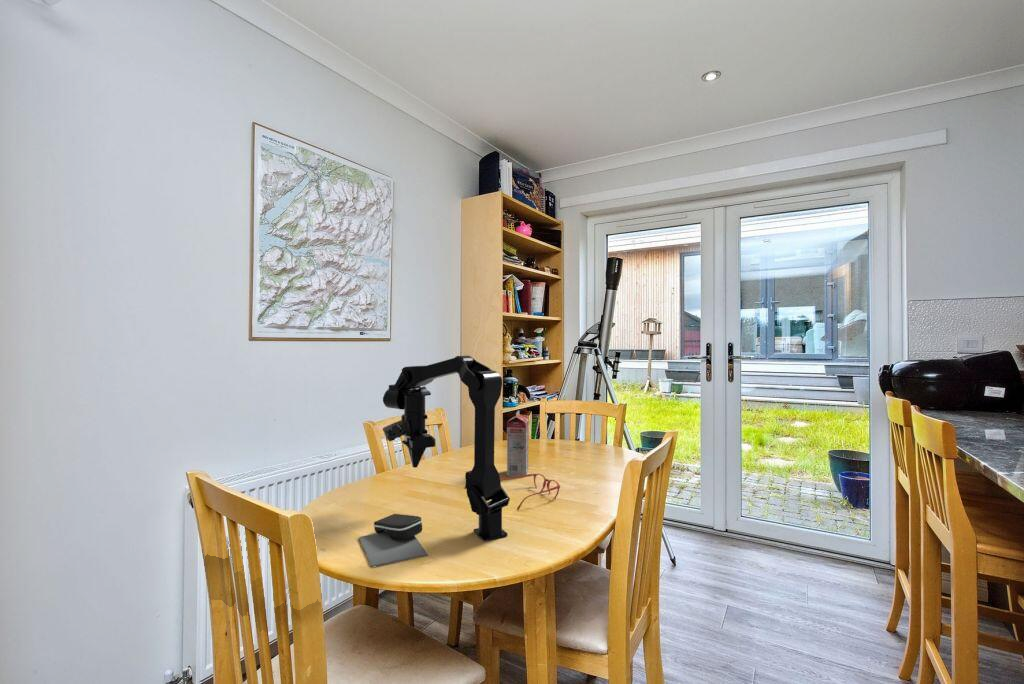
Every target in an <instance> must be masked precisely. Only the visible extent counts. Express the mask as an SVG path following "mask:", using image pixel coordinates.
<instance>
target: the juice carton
mask: <svg viewBox="0 0 1024 684" xmlns="http://www.w3.org/2000/svg"><path fill="white" fill-rule="evenodd" d="M527 474H529V419H528V418H527V417H525V416H523V415H521V414H520V409H518V410H517V411H516V413H515V415H514V416H513V417H511V418H510V419H509V420H508V421H507V422H506V476H507V475H508V476H507V477H515V476H521V475H527Z"/></svg>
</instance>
